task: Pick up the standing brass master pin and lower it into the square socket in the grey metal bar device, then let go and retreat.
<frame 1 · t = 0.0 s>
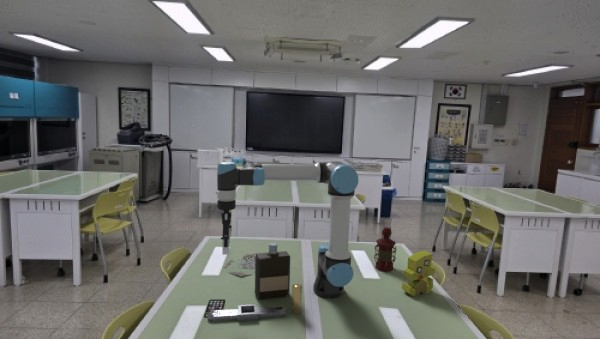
hand: (226, 248, 156), 28 cm above the table, fingers open, 13 cm apart
toy: (417, 292, 183), on the table
bottle: (272, 295, 175), on the table
lantern: (384, 268, 211), on the table
stone slab: (250, 264, 212), on the table
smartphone: (215, 309, 161), on the table
master pin: (296, 311, 160), on the table
grey metal bar device: (247, 315, 156), on the table
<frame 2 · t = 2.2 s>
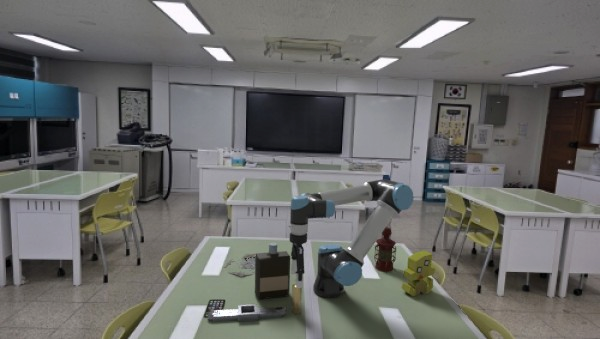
hand: (296, 280, 158), 14 cm above the table, fingers open, 13 cm apart
nothing on the table moved.
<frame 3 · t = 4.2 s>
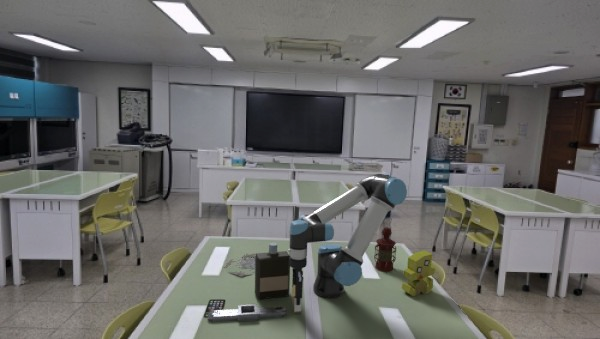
hand: (296, 308, 160), 2 cm above the table, fingers closed on master pin, 4 cm apart
master pin: (296, 311, 160), on the table, touching gripper
everything else where it was.
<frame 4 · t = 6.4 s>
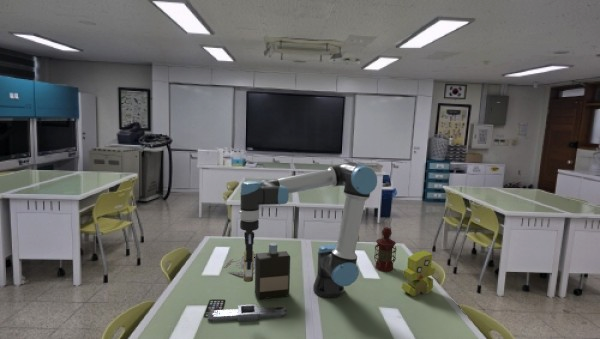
hand: (248, 273, 153), 19 cm above the table, fingers closed on master pin, 4 cm apart
master pin: (248, 279, 153), point 16 cm above the table, touching gripper
everything else where it was.
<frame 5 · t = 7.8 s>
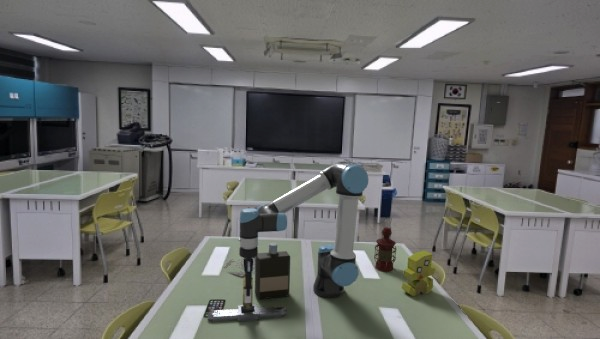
hand: (247, 299, 155), 7 cm above the table, fingers closed on master pin, 4 cm apart
master pin: (247, 305, 155), point 5 cm above the table, touching gripper
everything else where it was.
when the fingers open (4 cm above the table, at t = 8.7 s): master pin stays where it is, resting in grey metal bar device.
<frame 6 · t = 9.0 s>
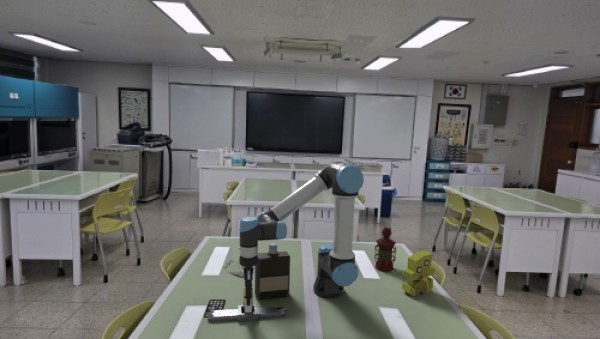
hand: (247, 306, 155), 4 cm above the table, fingers open, 8 cm apart
master pin: (247, 315, 156), resting in grey metal bar device
everything else where it was.
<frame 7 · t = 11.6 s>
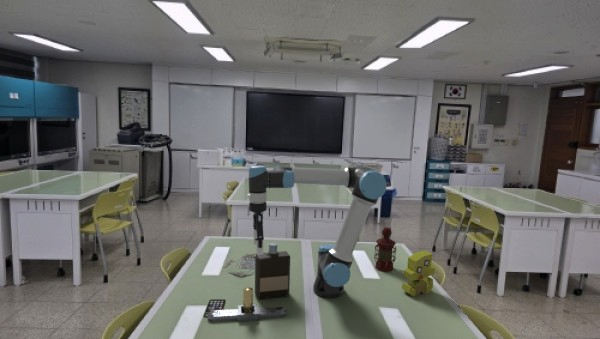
hand: (258, 249, 161), 26 cm above the table, fingers open, 13 cm apart
nothing on the table moved.
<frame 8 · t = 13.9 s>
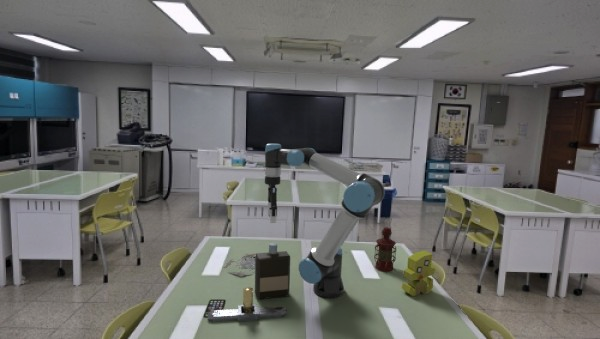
hand: (271, 218, 179), 35 cm above the table, fingers open, 13 cm apart
nothing on the table moved.
at the end: master pin 0.1 cm off-centre on the grey metal bar device, point 0.0 cm above the grey metal bar device's base; master pin tilted 0°; the gripper is holding nothing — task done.
